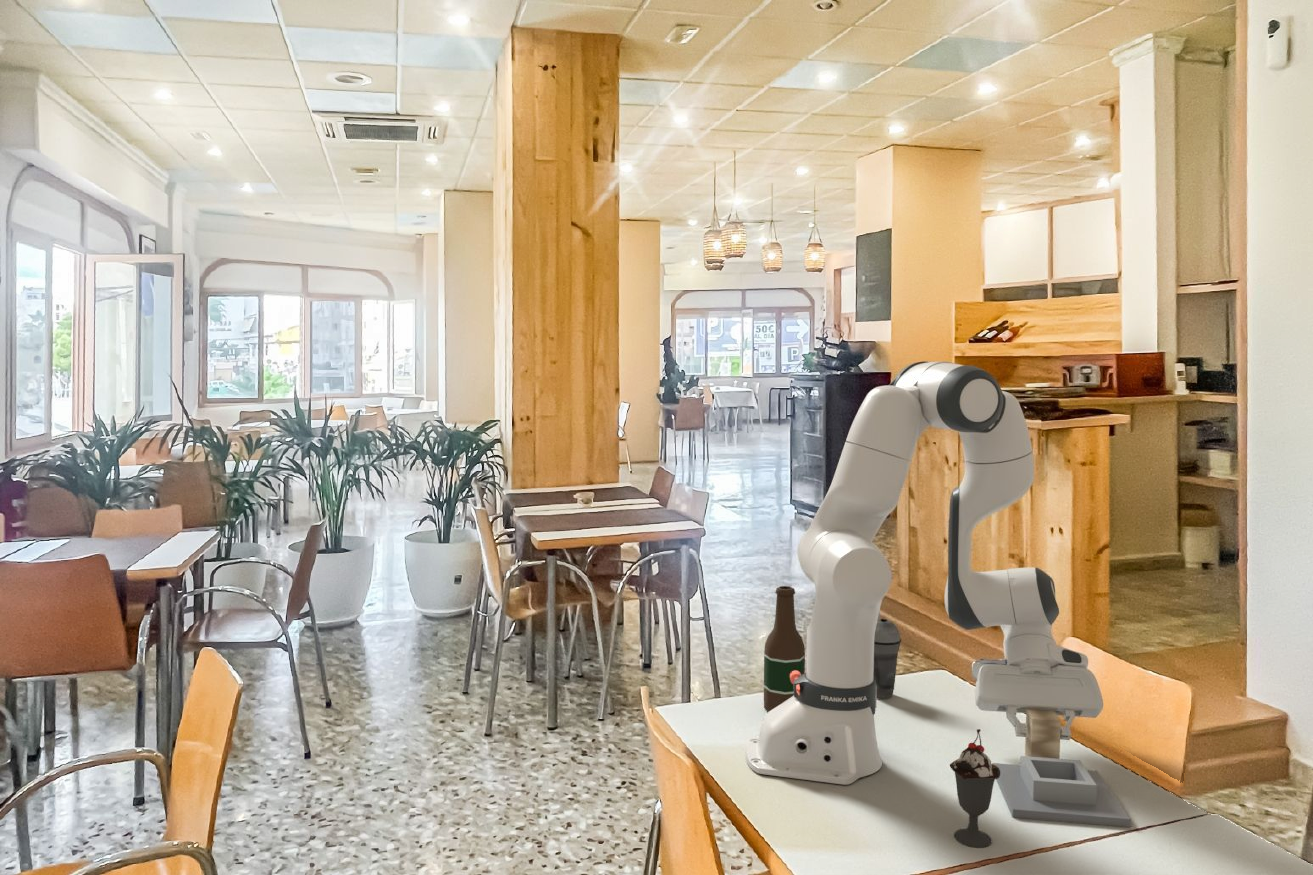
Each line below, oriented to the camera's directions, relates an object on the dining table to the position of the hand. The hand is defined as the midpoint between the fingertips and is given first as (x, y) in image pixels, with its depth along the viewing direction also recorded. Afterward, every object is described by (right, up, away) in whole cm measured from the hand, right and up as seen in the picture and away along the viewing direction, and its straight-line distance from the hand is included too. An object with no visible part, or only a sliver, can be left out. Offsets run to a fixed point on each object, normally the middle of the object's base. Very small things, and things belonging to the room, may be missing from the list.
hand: (1043, 737), depth 149 cm
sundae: (-20, -6, -24) cm, 32 cm away
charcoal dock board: (-3, -5, -12) cm, 13 cm away
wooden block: (0, -4, +1) cm, 4 cm away
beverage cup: (-19, -2, +32) cm, 37 cm away
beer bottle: (-40, -3, +24) cm, 47 cm away
